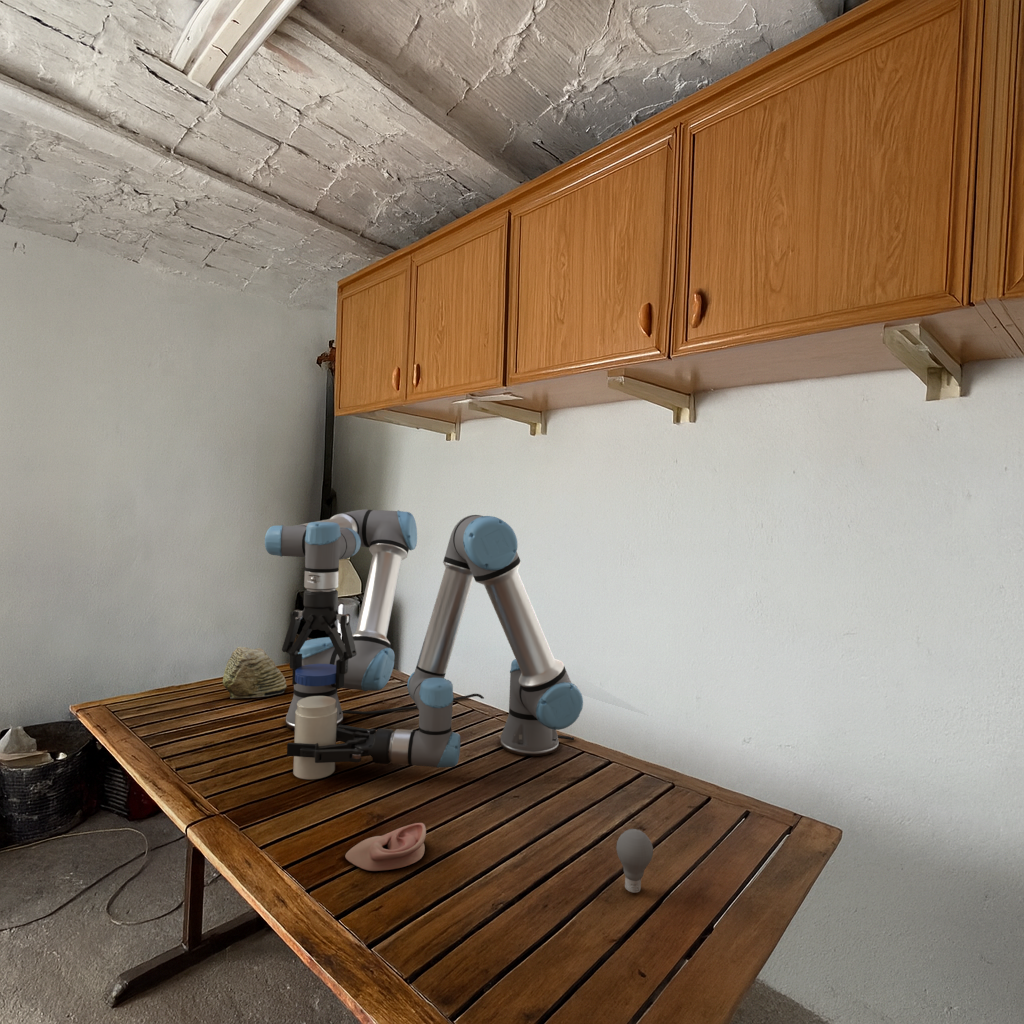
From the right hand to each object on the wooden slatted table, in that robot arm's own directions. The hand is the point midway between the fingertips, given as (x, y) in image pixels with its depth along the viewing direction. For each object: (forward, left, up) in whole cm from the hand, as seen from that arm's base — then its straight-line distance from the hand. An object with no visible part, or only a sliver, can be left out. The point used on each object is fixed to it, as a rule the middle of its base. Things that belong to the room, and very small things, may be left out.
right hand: (296, 740), depth 146 cm
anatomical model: (-13, +41, -7) cm, 44 cm away
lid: (-4, +2, +16) cm, 17 cm away
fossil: (+8, -59, -7) cm, 60 cm away
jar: (-4, +2, -7) cm, 8 cm away
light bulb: (-49, +65, -7) cm, 82 cm away
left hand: (-4, +2, +13) cm, 14 cm away
